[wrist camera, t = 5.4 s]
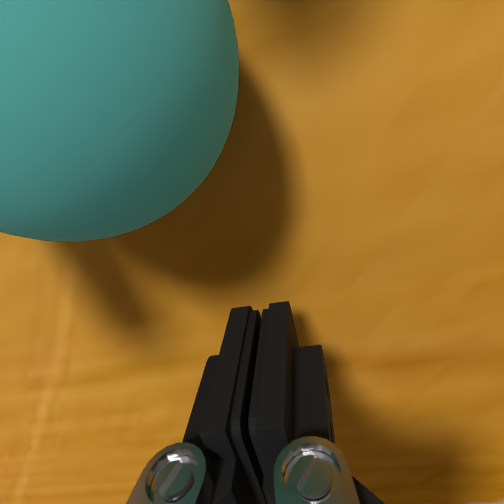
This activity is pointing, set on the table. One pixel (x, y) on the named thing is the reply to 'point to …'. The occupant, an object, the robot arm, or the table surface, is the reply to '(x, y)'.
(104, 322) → the table surface
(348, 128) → the table surface
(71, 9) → the ball
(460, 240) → the table surface
